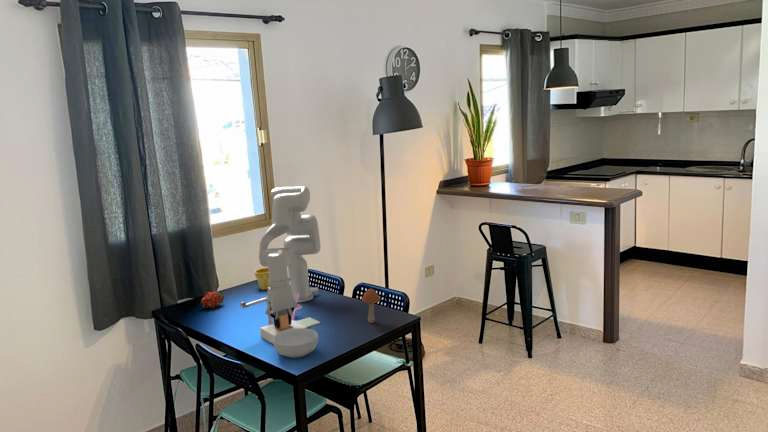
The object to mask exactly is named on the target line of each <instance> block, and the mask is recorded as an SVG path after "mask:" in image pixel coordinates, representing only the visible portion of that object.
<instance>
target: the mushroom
mask: <svg viewBox="0 0 768 432" xmlns="http://www.w3.org/2000/svg"><path fill="white" fill-rule="evenodd" d="M380 301H381V298H380V296H379V294H378V292H377V291H376V290H374V289H373V288H371V287H370V288H369V289H367V290H366V291H365V293H364V294H363V295H362V299H361V302H363V303H365V304H368V315H367V322H368V323H370V324H374V322H375V321H376V319H375V303H379V302H380Z"/></svg>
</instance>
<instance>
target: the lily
mask: <svg viewBox="0 0 768 432" xmlns="http://www.w3.org/2000/svg"><path fill="white" fill-rule="evenodd" d="M298 297H299V293H298V294H296V295H294V296H293V299H294V301H295V302H296V303H297V301H298ZM297 304H298V305H297V307H296V308H295V309H294V311H293V312H292V315H291V318H292V320H294V321H295V318H296V316H295V315H296V314H297V312H296V311H297V310H300V309H303V306H302V305H301V304H299V303H297Z"/></svg>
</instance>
